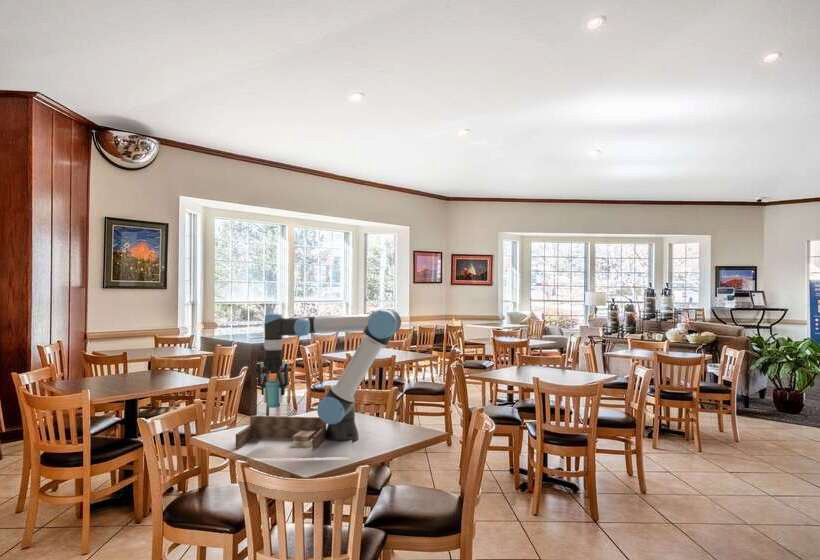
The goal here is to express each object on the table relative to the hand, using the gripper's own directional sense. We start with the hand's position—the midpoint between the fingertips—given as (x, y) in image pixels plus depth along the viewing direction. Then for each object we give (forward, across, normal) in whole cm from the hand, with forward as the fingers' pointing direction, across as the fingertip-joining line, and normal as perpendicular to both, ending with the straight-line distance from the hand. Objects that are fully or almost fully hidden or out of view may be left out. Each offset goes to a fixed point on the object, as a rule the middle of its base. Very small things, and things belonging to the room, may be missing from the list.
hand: (273, 402), depth 235 cm
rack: (+18, -4, -1) cm, 19 cm away
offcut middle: (+17, -14, 0) cm, 22 cm away
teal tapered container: (+2, 0, 0) cm, 2 cm away
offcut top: (+15, -14, 0) cm, 21 cm away
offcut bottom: (+19, -14, 0) cm, 24 cm away
